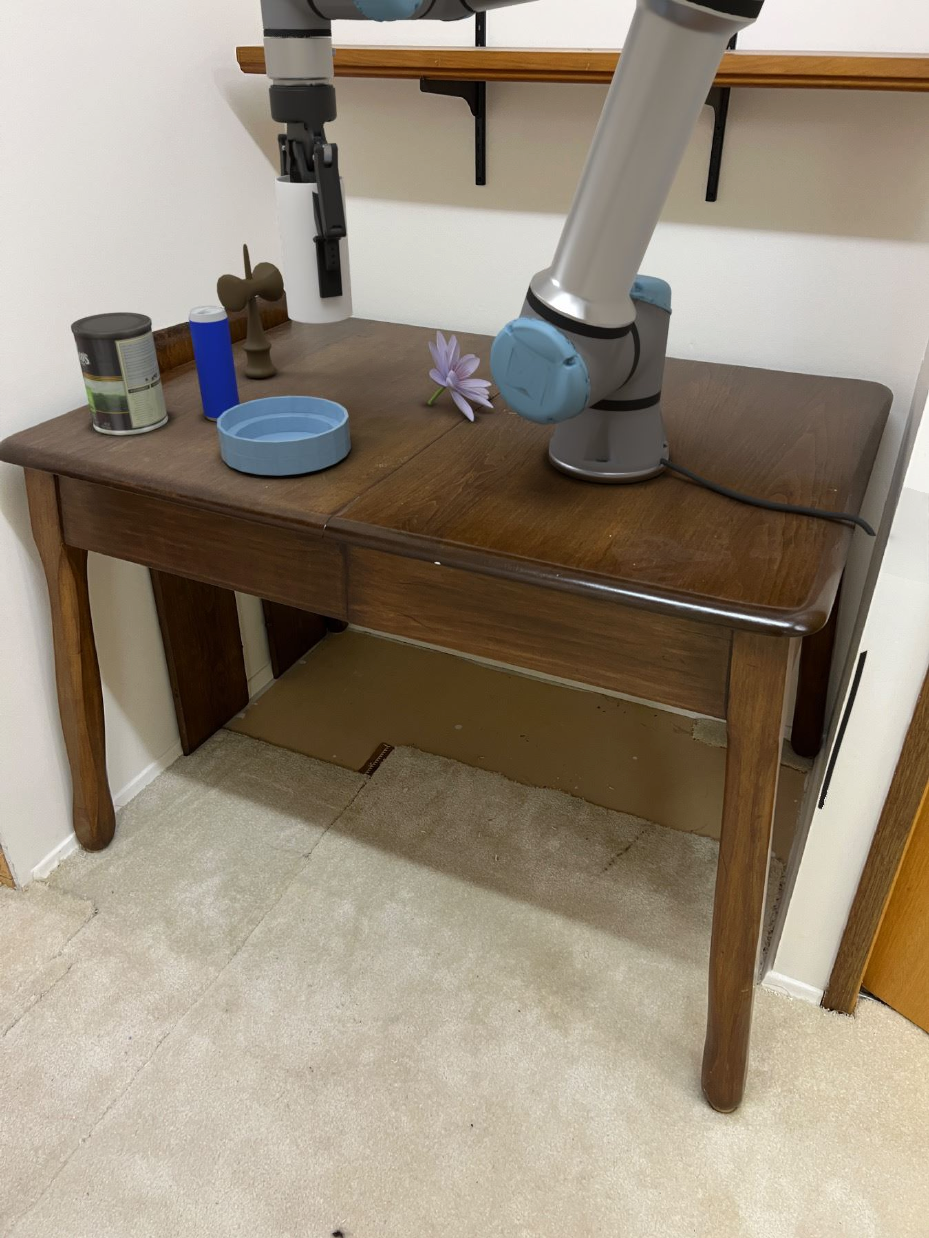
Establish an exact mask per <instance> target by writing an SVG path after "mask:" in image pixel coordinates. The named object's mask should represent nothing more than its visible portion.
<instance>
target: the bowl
mask: <svg viewBox="0 0 929 1238" xmlns="http://www.w3.org/2000/svg"><path fill="white" fill-rule="evenodd" d="M216 429H217V436H218V440H219V441H218V442H219V448H220V456H221V459H222V460H223V461H224V463H225V464H226V465H227V466H228V467H230V468H233V469H235V470H237V471H239V472H243V473H248V474H253V475H259V476H289V475H290V476H291V475H301V474H305V473H312V472H315V471H319V470H322V469H323V470H324V469H326V468H327V467H330V466H333V465H335V464H337V463H339V462H340V461H341V460H343V459H344V458H346V457H347V456H348V454H349V452H350V450H351V449H352V443H351V430H350V418H349V412H348V410H347V408H345V407H344V406H343V405H342V404H340V403H338V402H336V401H332V400H330V399H326V398H322V397H317V396H309V395H281V396H269V397H264V398H259V399H252V400H248V401H246V402H242V403H240V404H239V405H236V406H234V407H232V408H230V409H228V410H227V411H225V412H223V413H222V415H221V416H220V417H219V418H218V419H217V421H216Z"/></svg>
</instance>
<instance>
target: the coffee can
mask: <svg viewBox="0 0 929 1238" xmlns="http://www.w3.org/2000/svg"><path fill="white" fill-rule="evenodd" d="M152 327H153V322H152V318H151V317H149V316H148V315H145V314H142V313H138V312H122V311H121V312H120V311H119V312H106V313H99V314H92V315H89V316H85V317H82V318H80V319H77V320H75V321H73V322H72V323H71V325H70V330H71V333H72V334H73V339H74V343H75V348H76V352H77V355H78V360H79V365H80V370H81V374H82V377H83V379H82V380H83V384H84V387H85V391H86V396H87V400H88V405H89V408H90V414H91V419H92V425H93V428H94V430H95V431H96V432H98V433H101V434H105V435H109V436H133V435H139V434H144V433H148V432H152V431H154V430H157V429H159V428H161V427H163V426H164V425H166V424H167V423H168V420H169V416H168V413H167V407H166V402H165V395H164V390H163V385H162V379H161V372H160V368H159V362H158V357H157V350H156V346H155V339H154V334H153V328H152Z"/></svg>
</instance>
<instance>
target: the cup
mask: <svg viewBox="0 0 929 1238" xmlns="http://www.w3.org/2000/svg"><path fill="white" fill-rule="evenodd" d="M339 178H340V185H341V193H342V201H343V209H344V217H345V225H346V234H347V235H346V237H341V239H340V240H339V249H340V264H341V279H342V293H343V296H337V297H329V298H321V297H320V293H319V280H318V268H317V256H316V243H314V242H313V238H314V237H315V236H318V233H317V229H316V224H315V219H314V210H313V197H312V191H313V192H315V193H317V194H318V190H317V183H290V175H287V176H281V175H280V176H278V177H276V178H274V187H275V199H276V209H277V218H278V219H277V220H278V229H279V239H280V248H281V257H282V258H281V259H282V268H283V269H282V270H283V280H284V290H285V297H286V309H287V316H288V318H289V319H290V320H291V321H294V322H298V323H302V324H303V323H304V324H330V323H331V324H332V323H336V322H340V321H344V320H347V319H350V318H351V317H352V316H353V313H354V312H353V299H352V298H353V297H352V296H353V295H352V282H351V281H352V280H351V268H350V267H351V265H350V250H349V236H348V235H349V234H348V219H347V208H346V207H347V206H346V202H347V201H346V190H345V189H346V188H345V179H344V177H343V176H342V175H339Z"/></svg>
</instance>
